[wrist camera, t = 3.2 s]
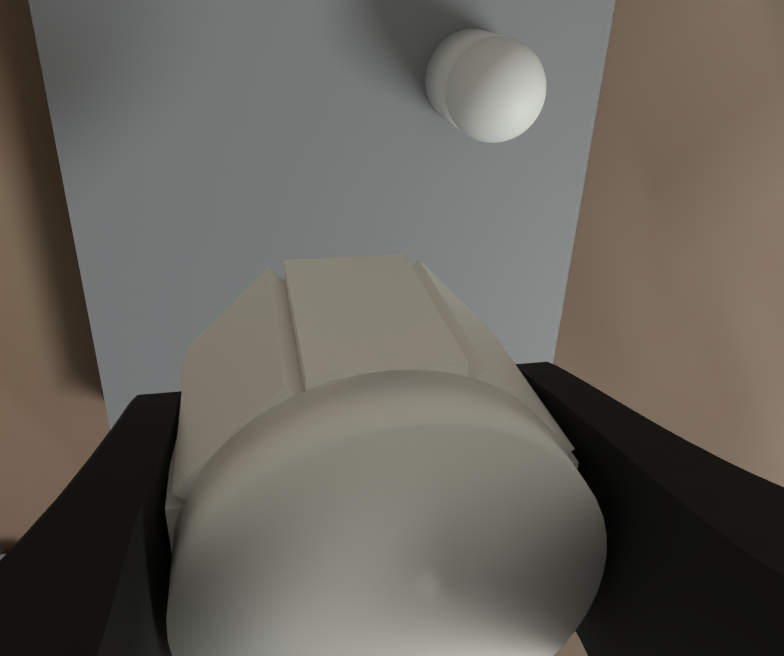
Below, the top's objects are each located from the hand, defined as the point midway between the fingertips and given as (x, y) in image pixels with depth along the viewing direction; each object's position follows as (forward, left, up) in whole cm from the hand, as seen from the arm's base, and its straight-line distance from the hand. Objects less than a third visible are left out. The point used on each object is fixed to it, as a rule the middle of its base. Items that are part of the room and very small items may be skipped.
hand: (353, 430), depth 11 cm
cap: (0, 0, -1) cm, 1 cm away
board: (+1, +1, -10) cm, 10 cm away
